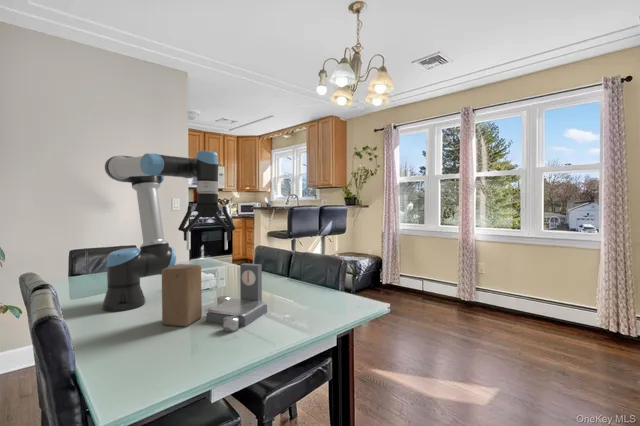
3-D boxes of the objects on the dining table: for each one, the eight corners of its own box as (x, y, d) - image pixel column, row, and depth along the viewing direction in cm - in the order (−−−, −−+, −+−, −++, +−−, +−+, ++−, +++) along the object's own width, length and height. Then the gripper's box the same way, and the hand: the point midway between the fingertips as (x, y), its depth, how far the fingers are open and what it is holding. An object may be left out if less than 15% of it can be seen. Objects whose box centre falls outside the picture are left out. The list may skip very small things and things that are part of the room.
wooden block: (186, 327, 113) (186, 269, 112) (161, 325, 115) (160, 268, 114) (202, 317, 122) (202, 264, 122) (178, 315, 124) (178, 263, 124)
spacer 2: (220, 331, 109) (220, 319, 109) (229, 326, 114) (229, 315, 114) (233, 333, 108) (233, 321, 108) (241, 328, 112) (241, 316, 112)
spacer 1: (214, 308, 134) (214, 298, 134) (222, 304, 138) (222, 295, 138) (225, 309, 132) (225, 299, 132) (232, 305, 137) (232, 296, 137)
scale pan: (208, 319, 119) (208, 309, 119) (232, 307, 133) (232, 298, 133) (244, 324, 114) (244, 314, 114) (265, 311, 128) (265, 301, 128)
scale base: (206, 321, 119) (206, 271, 118) (236, 305, 137) (235, 262, 136) (245, 326, 114) (244, 274, 113) (270, 309, 132) (270, 265, 131)
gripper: (169, 192, 117) (169, 251, 118) (240, 193, 121) (240, 250, 122) (175, 192, 125) (175, 248, 126) (242, 193, 129) (242, 247, 130)
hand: (207, 249), depth 124 cm, fingers open, 13 cm apart
